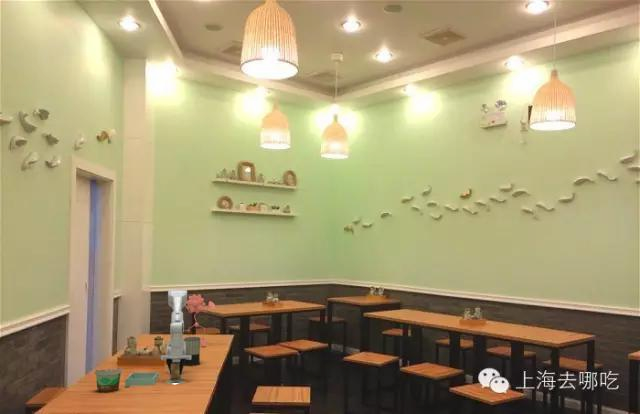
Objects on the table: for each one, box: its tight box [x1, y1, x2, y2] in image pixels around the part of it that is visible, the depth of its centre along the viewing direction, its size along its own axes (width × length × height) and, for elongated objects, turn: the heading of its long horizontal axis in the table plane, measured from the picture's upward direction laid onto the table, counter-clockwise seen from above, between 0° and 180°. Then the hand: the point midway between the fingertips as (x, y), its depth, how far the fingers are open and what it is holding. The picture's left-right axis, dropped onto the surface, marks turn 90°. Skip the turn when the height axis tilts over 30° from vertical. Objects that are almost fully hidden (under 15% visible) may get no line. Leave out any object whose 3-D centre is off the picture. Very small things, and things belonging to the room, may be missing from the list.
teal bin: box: [124, 371, 160, 388], centre depth 277 cm, size 13×13×4 cm
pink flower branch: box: [182, 293, 216, 347], centre depth 370 cm, size 15×26×35 cm, turn 88°
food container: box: [94, 367, 123, 393], centre depth 263 cm, size 12×6×10 cm, turn 105°
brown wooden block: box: [170, 362, 182, 381], centre depth 279 cm, size 5×6×8 cm
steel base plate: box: [164, 378, 187, 385], centre depth 278 cm, size 10×10×1 cm
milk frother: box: [183, 336, 202, 366], centre depth 319 cm, size 14×16×15 cm
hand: (175, 374), depth 279 cm, fingers closed on brown wooden block, 4 cm apart
